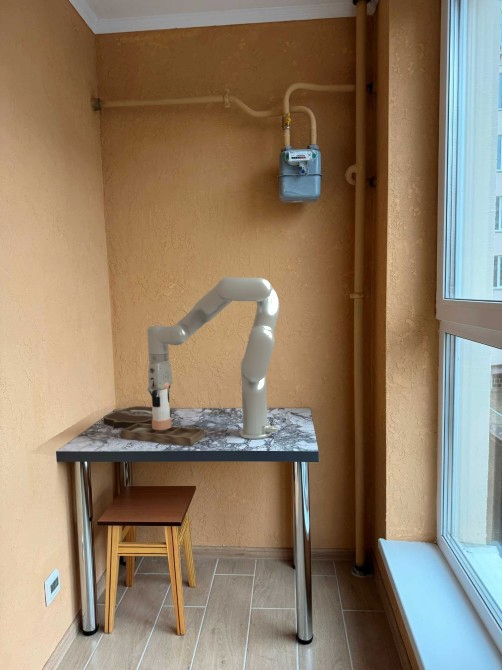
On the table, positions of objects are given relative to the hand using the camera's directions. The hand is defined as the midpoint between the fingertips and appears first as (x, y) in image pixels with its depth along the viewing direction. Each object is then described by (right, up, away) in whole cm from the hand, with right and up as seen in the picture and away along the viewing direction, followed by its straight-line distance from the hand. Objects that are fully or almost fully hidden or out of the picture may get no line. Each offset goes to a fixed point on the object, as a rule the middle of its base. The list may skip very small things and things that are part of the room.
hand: (161, 404), depth 178 cm
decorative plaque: (-16, -12, +28) cm, 34 cm away
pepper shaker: (0, -9, +1) cm, 9 cm away
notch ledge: (0, -13, +1) cm, 13 cm away
